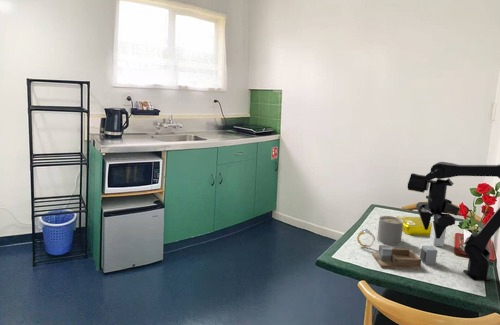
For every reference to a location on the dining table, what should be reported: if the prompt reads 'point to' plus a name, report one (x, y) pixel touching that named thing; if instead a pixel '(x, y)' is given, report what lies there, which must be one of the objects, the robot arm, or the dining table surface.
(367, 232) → the ring
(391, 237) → the coffee mug
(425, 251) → the block
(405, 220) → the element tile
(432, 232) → the skincare box
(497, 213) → the robot arm
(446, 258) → the dining table surface
